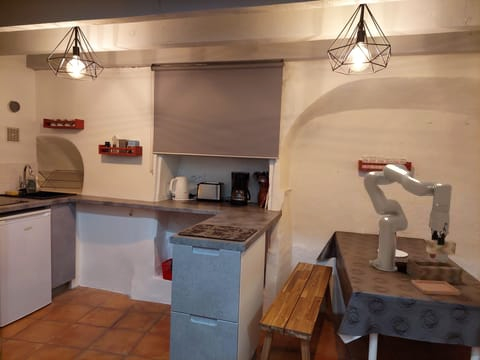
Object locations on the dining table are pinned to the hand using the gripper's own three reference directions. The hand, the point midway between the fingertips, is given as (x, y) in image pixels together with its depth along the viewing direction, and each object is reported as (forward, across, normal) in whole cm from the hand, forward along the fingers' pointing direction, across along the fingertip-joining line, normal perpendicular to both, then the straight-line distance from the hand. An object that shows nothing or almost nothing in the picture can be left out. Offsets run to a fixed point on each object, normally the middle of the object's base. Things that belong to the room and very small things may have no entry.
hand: (437, 243), depth 163 cm
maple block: (+5, 0, +2) cm, 5 cm away
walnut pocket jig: (+24, -15, +9) cm, 30 cm away
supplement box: (+24, -32, +21) cm, 46 cm away
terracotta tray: (+24, 0, +1) cm, 24 cm away
